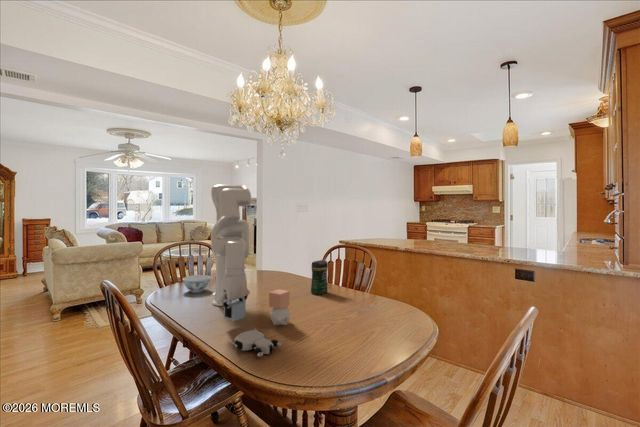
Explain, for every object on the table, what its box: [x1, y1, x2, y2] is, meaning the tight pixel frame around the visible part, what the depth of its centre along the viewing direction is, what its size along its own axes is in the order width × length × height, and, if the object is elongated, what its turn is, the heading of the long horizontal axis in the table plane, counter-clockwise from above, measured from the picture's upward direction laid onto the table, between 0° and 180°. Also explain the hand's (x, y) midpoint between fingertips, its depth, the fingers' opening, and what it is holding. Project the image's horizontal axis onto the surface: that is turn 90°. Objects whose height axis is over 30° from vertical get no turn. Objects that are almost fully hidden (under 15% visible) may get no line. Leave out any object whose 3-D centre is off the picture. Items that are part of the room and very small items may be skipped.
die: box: [269, 306, 291, 326], centre depth 134 cm, size 8×9×10 cm
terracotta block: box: [268, 288, 290, 309], centre depth 133 cm, size 6×6×6 cm
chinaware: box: [182, 274, 211, 294], centre depth 183 cm, size 15×15×8 cm
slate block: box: [223, 299, 247, 322], centre depth 129 cm, size 6×6×6 cm
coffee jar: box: [310, 259, 329, 295], centre depth 182 cm, size 10×8×19 cm
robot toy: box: [228, 328, 283, 357], centre depth 110 cm, size 12×4×15 cm
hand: (234, 314), depth 130 cm, fingers closed on slate block, 6 cm apart
